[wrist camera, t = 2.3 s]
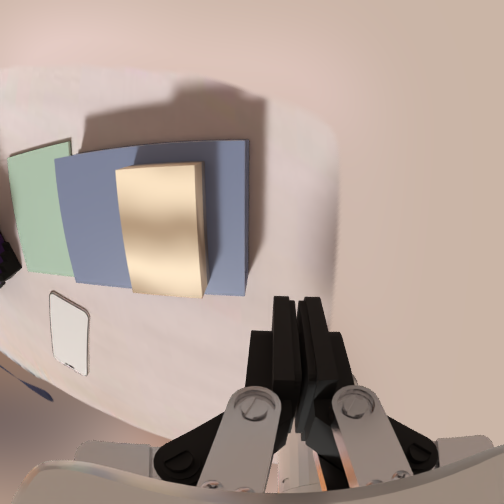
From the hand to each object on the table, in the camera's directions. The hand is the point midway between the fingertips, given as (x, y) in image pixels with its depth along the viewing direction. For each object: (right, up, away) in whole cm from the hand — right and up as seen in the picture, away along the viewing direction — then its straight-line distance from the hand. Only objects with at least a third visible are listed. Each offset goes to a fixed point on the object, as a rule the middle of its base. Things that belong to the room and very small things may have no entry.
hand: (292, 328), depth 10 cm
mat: (-27, +7, +17) cm, 33 cm away
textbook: (-11, +7, +16) cm, 21 cm away
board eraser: (-8, +5, +11) cm, 14 cm away
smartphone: (-29, -10, +25) cm, 40 cm away
